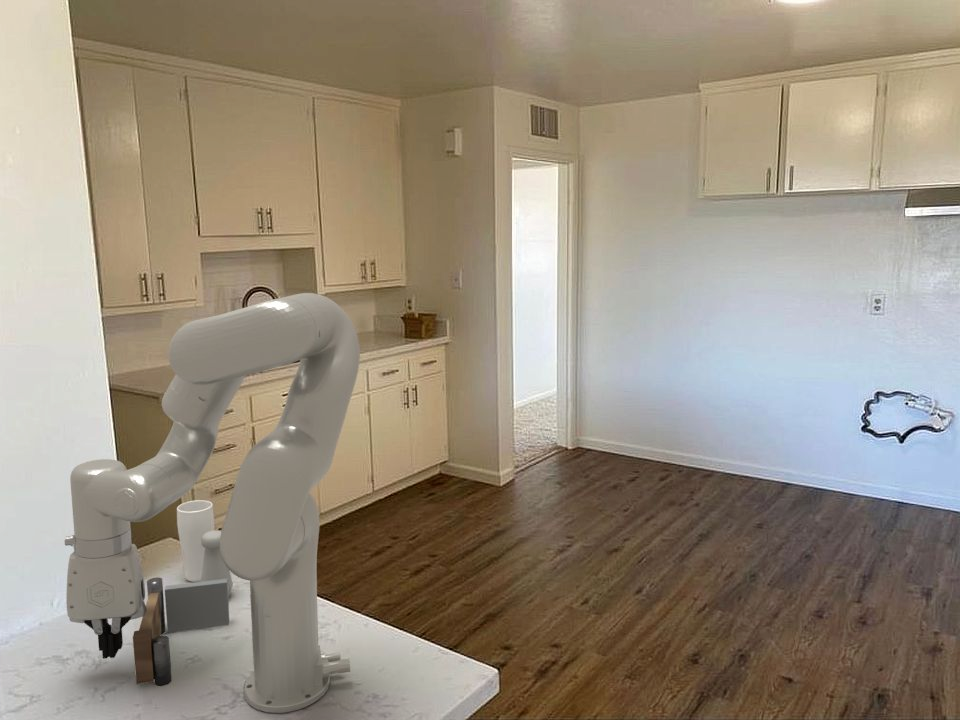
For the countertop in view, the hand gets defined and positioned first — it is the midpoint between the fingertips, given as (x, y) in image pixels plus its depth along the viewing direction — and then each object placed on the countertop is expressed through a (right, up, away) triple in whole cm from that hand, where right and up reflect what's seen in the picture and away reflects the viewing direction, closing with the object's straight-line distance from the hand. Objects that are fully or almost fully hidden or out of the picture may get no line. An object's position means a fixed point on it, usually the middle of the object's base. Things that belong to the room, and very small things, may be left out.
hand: (111, 653), depth 113 cm
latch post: (+9, -4, -1) cm, 10 cm away
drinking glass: (+1, +2, +33) cm, 33 cm away
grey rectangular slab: (+8, -1, +14) cm, 16 cm away
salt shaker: (+8, 0, +24) cm, 25 cm away
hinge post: (+2, -1, +12) cm, 13 cm away
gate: (+4, -2, +4) cm, 6 cm away
